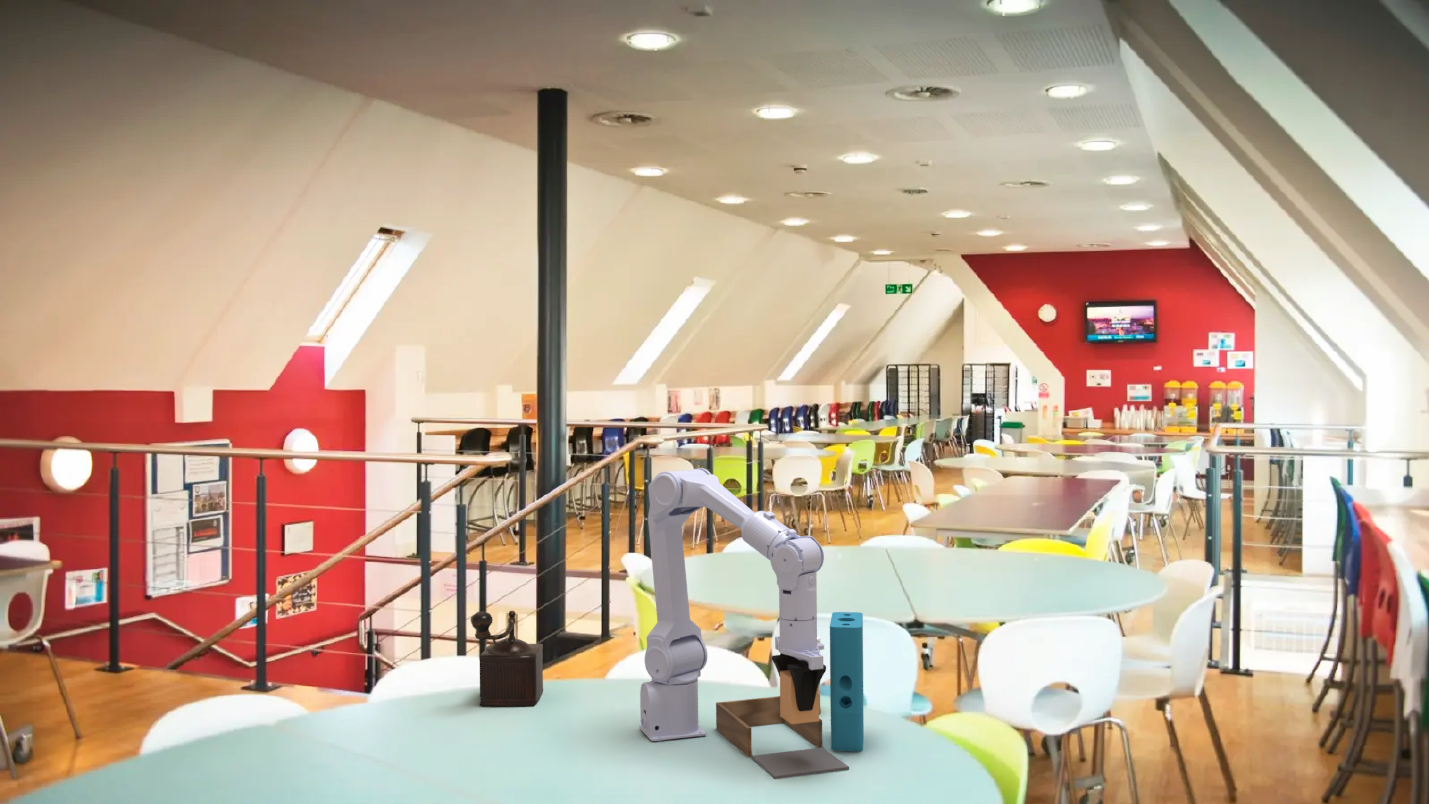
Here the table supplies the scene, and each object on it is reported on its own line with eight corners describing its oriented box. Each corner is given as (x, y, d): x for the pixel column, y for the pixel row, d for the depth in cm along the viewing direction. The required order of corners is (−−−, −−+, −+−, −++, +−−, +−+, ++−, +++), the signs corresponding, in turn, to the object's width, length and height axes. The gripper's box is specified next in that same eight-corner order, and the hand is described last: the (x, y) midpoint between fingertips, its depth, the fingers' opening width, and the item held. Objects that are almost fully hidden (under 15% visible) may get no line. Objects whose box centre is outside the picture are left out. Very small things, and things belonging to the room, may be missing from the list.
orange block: (791, 724, 176) (790, 678, 176) (780, 716, 180) (779, 671, 180) (818, 721, 177) (818, 675, 177) (807, 713, 182) (806, 668, 182)
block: (862, 755, 183) (861, 627, 182) (830, 754, 183) (829, 627, 183) (863, 732, 195) (862, 612, 194) (833, 731, 195) (832, 611, 195)
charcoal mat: (774, 778, 172) (774, 776, 172) (751, 758, 182) (751, 755, 182) (849, 769, 176) (849, 766, 176) (822, 749, 186) (822, 747, 186)
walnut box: (747, 757, 182) (747, 728, 182) (716, 729, 197) (715, 702, 197) (822, 748, 186) (822, 720, 186) (785, 721, 201) (785, 695, 201)
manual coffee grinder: (486, 692, 223) (485, 598, 222) (544, 691, 222) (543, 597, 222) (468, 715, 207) (467, 614, 207) (531, 715, 207) (529, 613, 207)
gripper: (841, 624, 173) (842, 716, 173) (803, 606, 187) (804, 691, 187) (797, 628, 171) (798, 720, 171) (762, 610, 184) (763, 695, 185)
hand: (798, 706), depth 179 cm, fingers closed on orange block, 4 cm apart
